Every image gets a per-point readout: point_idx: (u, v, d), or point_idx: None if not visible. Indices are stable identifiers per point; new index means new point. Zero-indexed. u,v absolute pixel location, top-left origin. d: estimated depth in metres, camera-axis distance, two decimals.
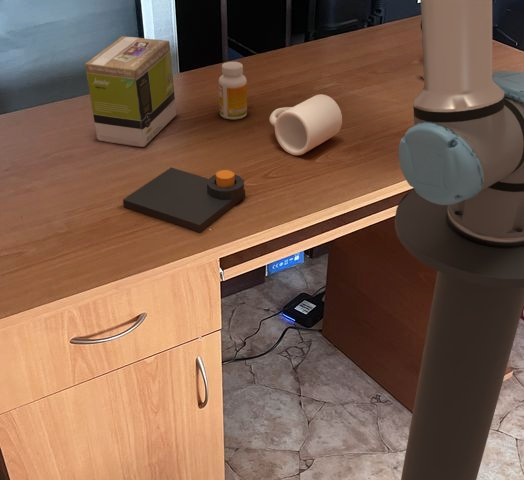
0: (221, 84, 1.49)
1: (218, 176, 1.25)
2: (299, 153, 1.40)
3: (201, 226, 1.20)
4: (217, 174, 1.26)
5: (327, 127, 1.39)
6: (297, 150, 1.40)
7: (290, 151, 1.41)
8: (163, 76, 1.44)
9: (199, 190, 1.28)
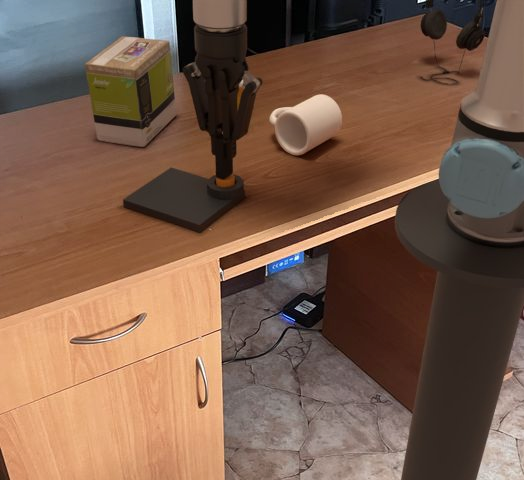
0: None
1: (218, 178, 1.26)
2: (299, 153, 1.40)
3: (201, 226, 1.20)
4: None
5: (327, 127, 1.39)
6: (297, 150, 1.40)
7: (290, 151, 1.41)
8: (163, 76, 1.44)
9: (199, 190, 1.28)
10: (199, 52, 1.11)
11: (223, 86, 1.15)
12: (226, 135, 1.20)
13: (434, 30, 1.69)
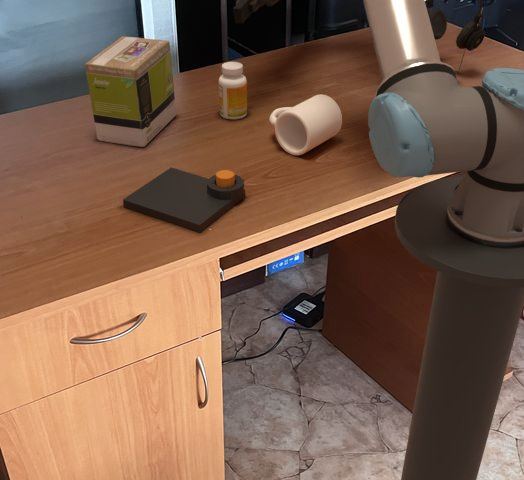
0: (221, 84, 1.49)
1: (218, 176, 1.25)
2: (299, 153, 1.40)
3: (201, 226, 1.20)
4: (217, 174, 1.26)
5: (327, 127, 1.39)
6: (297, 150, 1.40)
7: (290, 151, 1.41)
8: (163, 76, 1.44)
9: (199, 190, 1.28)
10: None
11: None
12: None
13: (434, 30, 1.69)
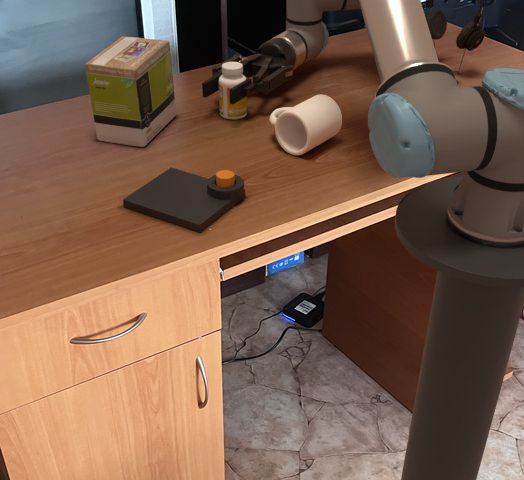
0: (221, 84, 1.49)
1: (218, 176, 1.25)
2: (299, 153, 1.40)
3: (201, 226, 1.20)
4: (217, 174, 1.26)
5: (327, 127, 1.39)
6: (297, 150, 1.40)
7: (290, 151, 1.41)
8: (163, 76, 1.44)
9: (199, 190, 1.28)
10: (266, 42, 1.58)
11: (267, 61, 1.55)
12: None
13: (434, 30, 1.69)
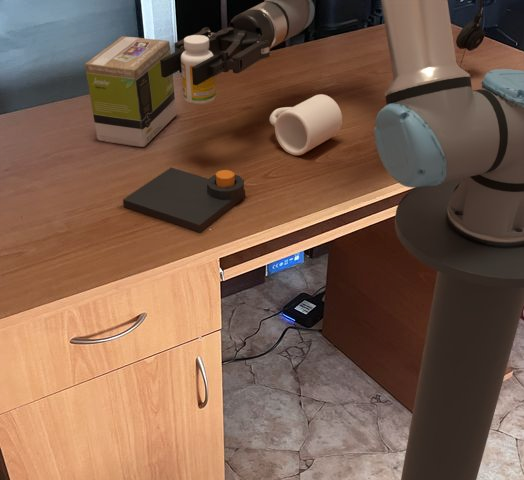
0: (183, 61, 1.25)
1: (218, 176, 1.25)
2: (299, 153, 1.40)
3: (201, 226, 1.20)
4: (217, 174, 1.26)
5: (327, 127, 1.39)
6: (297, 150, 1.40)
7: (290, 151, 1.41)
8: None
9: (199, 190, 1.28)
10: (239, 14, 1.35)
11: (240, 36, 1.31)
12: None
13: None
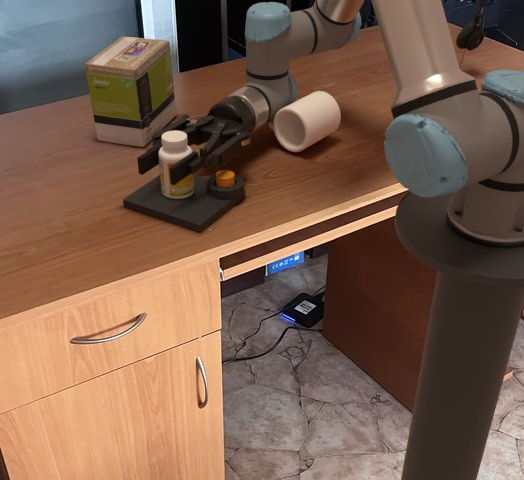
0: (161, 158, 1.22)
1: (218, 176, 1.25)
2: (301, 148, 1.39)
3: (201, 226, 1.20)
4: (217, 174, 1.26)
5: (325, 118, 1.39)
6: (299, 146, 1.40)
7: (292, 149, 1.40)
8: (163, 76, 1.44)
9: (199, 190, 1.28)
10: (219, 102, 1.32)
11: (220, 127, 1.28)
12: None
13: None
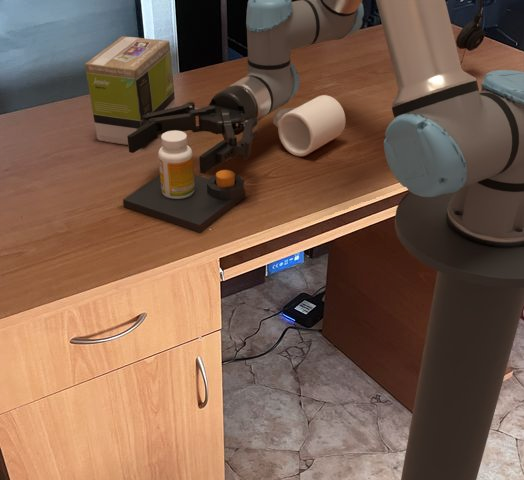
0: (161, 158, 1.22)
1: (218, 176, 1.25)
2: (302, 154, 1.39)
3: (201, 226, 1.20)
4: (217, 174, 1.26)
5: (331, 127, 1.39)
6: (300, 151, 1.40)
7: (293, 152, 1.40)
8: (163, 76, 1.44)
9: (199, 190, 1.28)
10: (221, 91, 1.30)
11: (226, 116, 1.27)
12: None
13: None
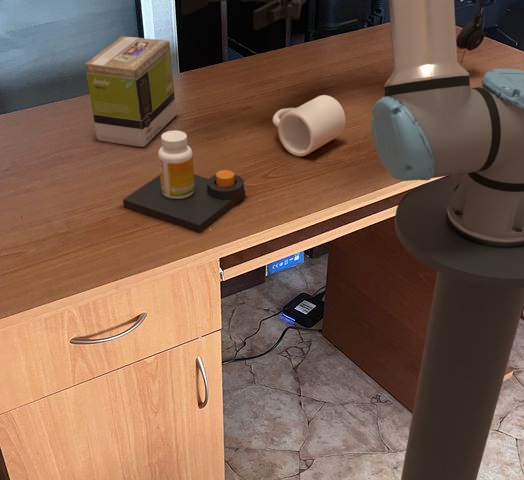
0: (161, 158, 1.22)
1: (218, 176, 1.25)
2: (302, 154, 1.39)
3: (201, 226, 1.20)
4: (217, 174, 1.26)
5: (331, 127, 1.39)
6: (300, 151, 1.40)
7: (293, 152, 1.40)
8: (163, 76, 1.44)
9: (199, 190, 1.28)
10: None
11: None
12: None
13: None
